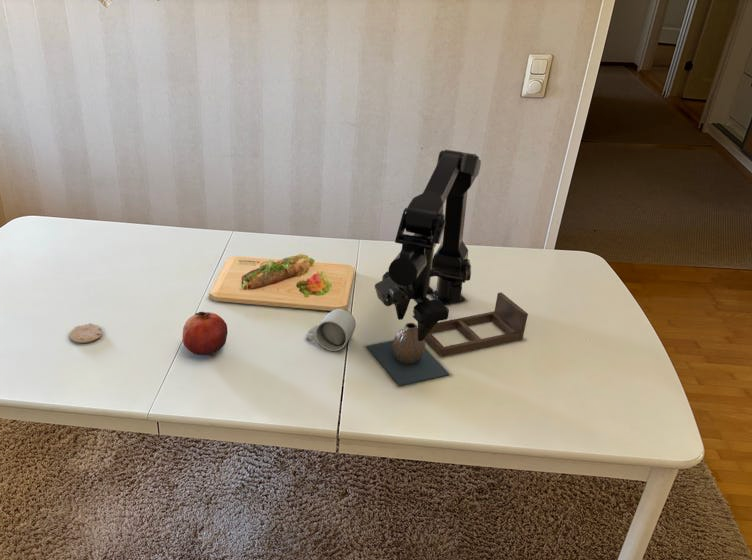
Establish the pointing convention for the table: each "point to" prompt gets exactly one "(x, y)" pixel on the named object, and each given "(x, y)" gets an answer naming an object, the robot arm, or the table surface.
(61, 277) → the table surface
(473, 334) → the cup stand
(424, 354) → the mat
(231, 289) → the cutting board
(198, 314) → the fruit
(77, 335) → the flatbread
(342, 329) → the ceramic mug
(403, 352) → the vase
